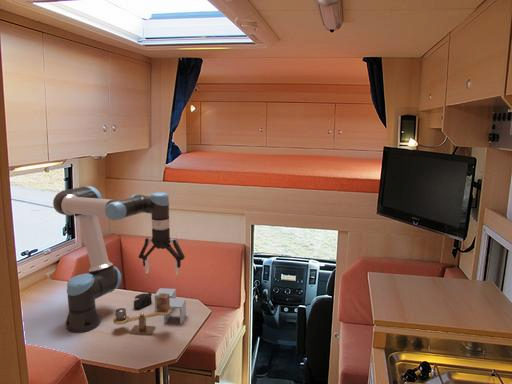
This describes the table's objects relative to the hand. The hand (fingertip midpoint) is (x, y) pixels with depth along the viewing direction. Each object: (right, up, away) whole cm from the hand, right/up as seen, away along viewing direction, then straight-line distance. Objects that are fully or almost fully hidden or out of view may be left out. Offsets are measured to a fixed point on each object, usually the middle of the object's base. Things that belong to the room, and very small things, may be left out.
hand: (162, 273), depth 181 cm
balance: (-10, -28, +6) cm, 30 cm away
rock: (-18, -23, +32) cm, 43 cm away
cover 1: (-5, -24, +28) cm, 37 cm away
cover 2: (+2, -26, +17) cm, 31 cm away
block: (0, -17, +3) cm, 18 cm away
